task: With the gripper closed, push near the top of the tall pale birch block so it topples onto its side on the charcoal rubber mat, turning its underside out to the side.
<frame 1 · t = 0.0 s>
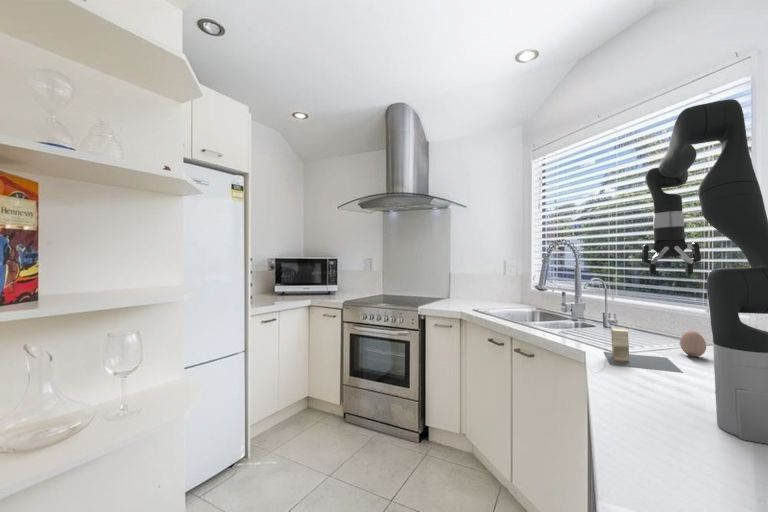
hand: (670, 275, 103), 29 cm above the countertop, fingers open, 8 cm apart
rubber mat: (639, 363, 105), on the countertop
birch block: (620, 359, 107), point 1 cm above the countertop, touching rubber mat
egg: (693, 357, 110), on the countertop
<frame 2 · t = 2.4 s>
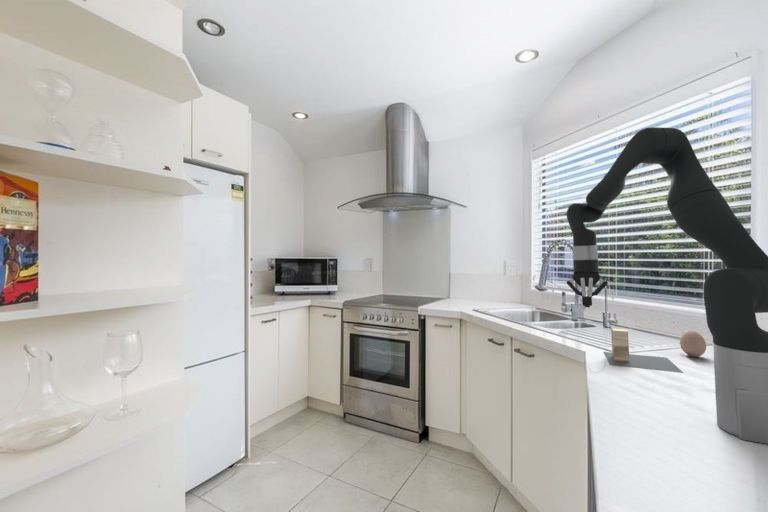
hand: (587, 307, 112), 18 cm above the countertop, fingers closed
nothing on the countertop moved.
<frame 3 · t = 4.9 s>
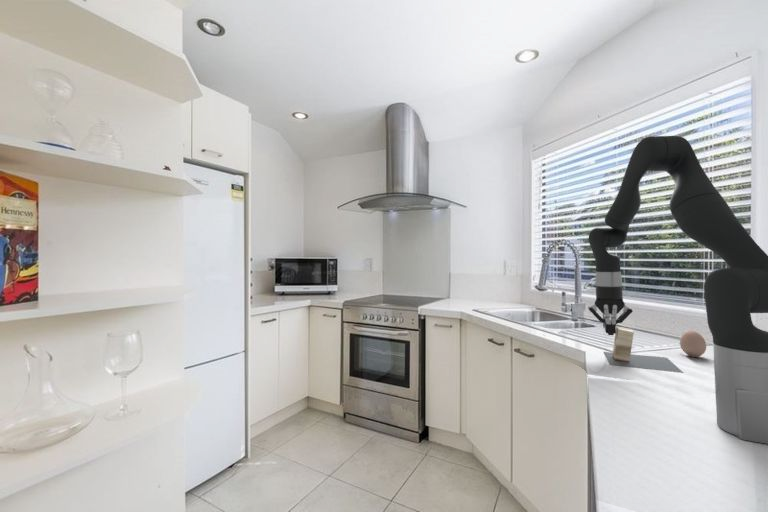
hand: (610, 334, 109), 9 cm above the countertop, fingers closed
birch block: (620, 358, 107), point 1 cm above the countertop, tilted 8°, touching rubber mat
everything else where it was.
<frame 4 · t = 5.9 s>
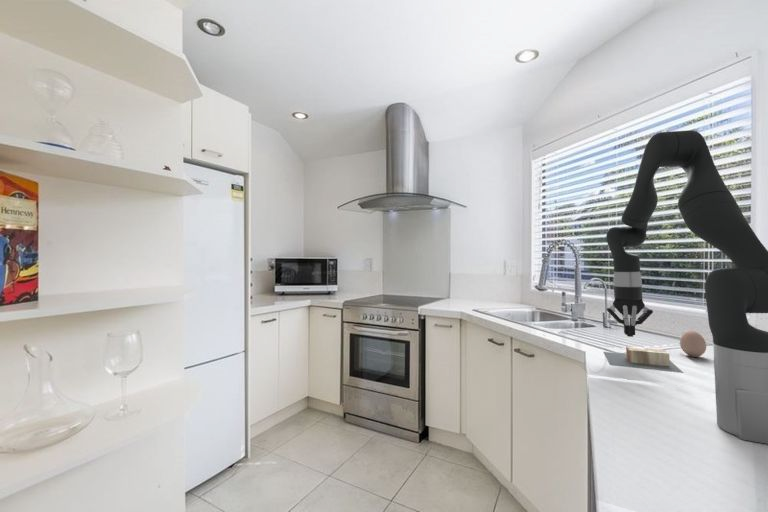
hand: (629, 336, 106), 9 cm above the countertop, fingers closed
birch block: (627, 354, 106), point 3 cm above the countertop, tilted 90°, touching rubber mat
everything else where it was.
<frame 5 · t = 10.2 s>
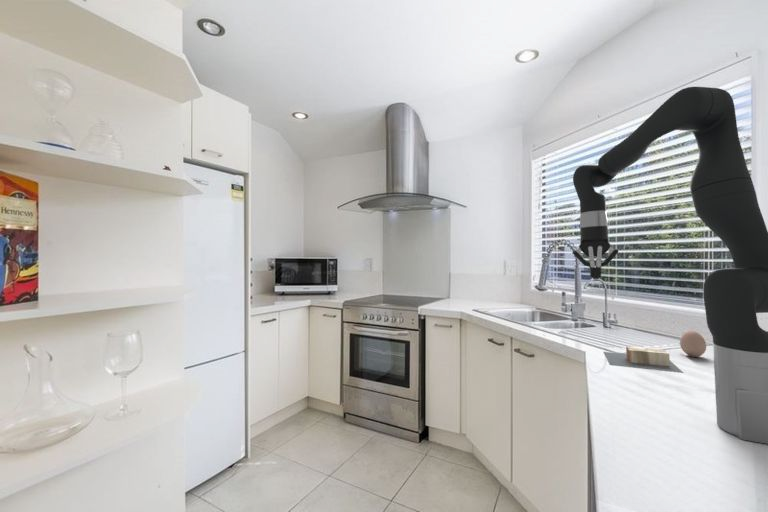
hand: (595, 278, 103), 29 cm above the countertop, fingers closed
nothing on the countertop moved.
at the end: birch block tilted 90°; birch block touching rubber mat; birch block inside the target area (0.0 cm from its centre), point 2.8 cm above the countertop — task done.
